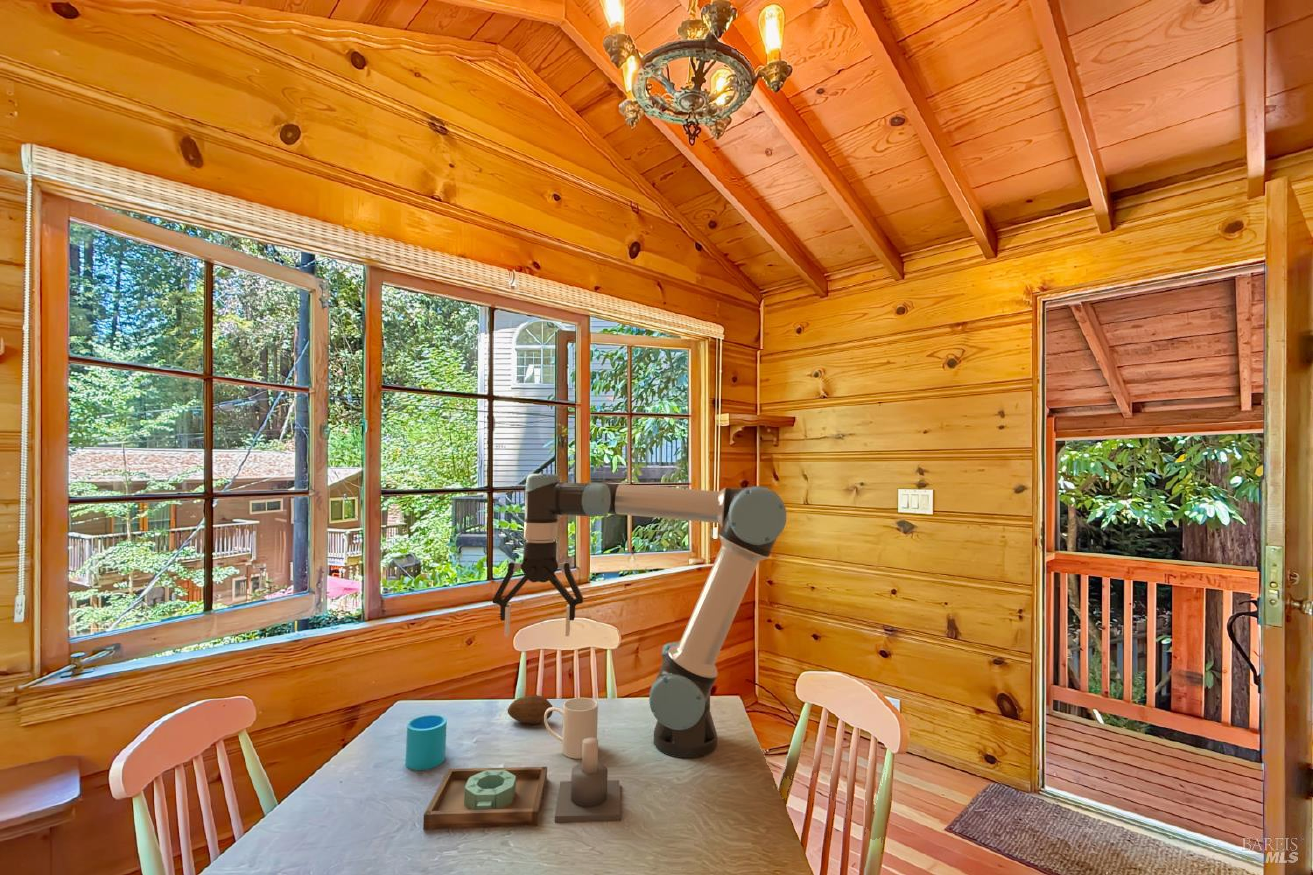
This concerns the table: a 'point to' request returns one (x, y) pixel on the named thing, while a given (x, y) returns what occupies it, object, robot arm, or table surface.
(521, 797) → the tray
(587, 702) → the mug
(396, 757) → the table surface
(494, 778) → the ring
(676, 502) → the robot arm
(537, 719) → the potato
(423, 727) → the mug
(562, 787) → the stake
